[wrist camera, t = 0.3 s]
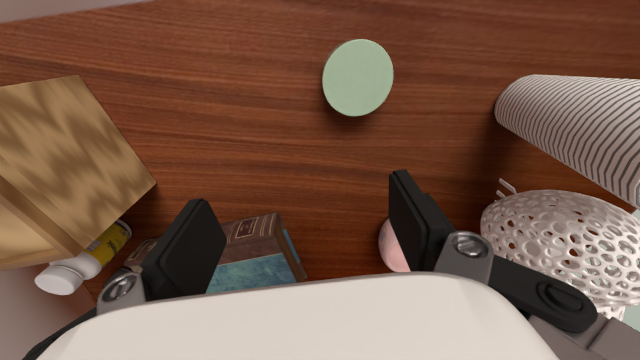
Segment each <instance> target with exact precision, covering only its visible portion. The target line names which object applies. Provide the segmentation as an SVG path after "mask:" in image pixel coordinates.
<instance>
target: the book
mask: <svg viewBox="0 0 640 360" xmlns="http://www.w3.org/2000/svg"><path fill="white" fill-rule="evenodd" d="M220 226H221V228H222V230H223V231H224V233H225V235H226V237H227V244H226V246H225V249H224V251H223V253H222V256H221V258H220V260H219V263H218V265H217V267H216V270H215V272H214V275H213V277H212V279H211V282H210V284H209V286H208V289H207V291H206V293H205V294H209V293H217V292H225V291H233V290H241V289H250V288H258V287H267V286H275V285H284V284H292V283H301V282H304V278H307V275H306V273H305V270H304V268H303V266H302V264H301V262H300V259H299V257H298V255H297V253H296V250H295V248H294V246H293V244H292V241H291V239H290V237H289V235H288V233H287V230H286V228H285V226H284V224H283V222H282V220H281V217H280V215H279V212H276V213H271V214H266V215H261V216H256V217H252V218H247V219H242V220H237V221H233V222H228V223H223V224H220ZM160 238H161V237H157V238H152V239H147V240H144V241H143V242H141V243H140V244H139V245H138V246H137V247H136V249H135V250H134V251H133V252H132V253H131V254H130V255H129V257H128V258H127V259H126V261H125V262H124V265H125V266H127V267H130V268H131V269H132V270H133V272H138V273H141V271H142V270H143V269H142V268H141V267H140V266H139V265H140V264H141V263H142V261H143V260H144V259H145V257H146V256H147V255H148V254H149V252H150V251H151V250H152V248H153V247H154V246H155V244H156V243H157V242H158V241H159V239H160Z"/></svg>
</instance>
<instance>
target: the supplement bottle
mask: <svg viewBox="0 0 640 360" xmlns="http://www.w3.org/2000/svg"><path fill="white" fill-rule="evenodd" d="M131 235H132V232H131V229H130V227H129V226H128V225H127V224H126V223H125V222H123V221H122V220H120V219H117V220H116V221H115V222H114V223H113V224H112V225H111V226H109V227H108V228H107V229H106V230H105V231H104V232H103V233H102V234H101V235H100V236H99V237H98V238H96V239H95V240H94V241H93V242H92V243H91V244H90V245H89V246H88V247H87V248H86V249H84V250H83V251H82V252H81V253H80V254H79V255H78V256H77V257H75V258H70V259H64V260H59V261H53V262H49V264H50V266H49V267H47V268H46V269H45V270H44V271H43V272H42V273H40V274H39V275H38V276H37V277H36V278H35V283H36V284H37V286H38V287H40V288H41V289H43V290H44V291H47V292H49V293H52V294H57V295H68V294H71V293H73V292H74V291H75V290H76V289H77V288H78V287H79V286H80V285H81V283H82V282H83V280H87V279H91V278H93V277H95V276H96V275H97V274H98V273H99V272H100V271H101V270H102V269H103V268H104V267H105V266H106V265H107V263H108V262H109V261H110V260H111V259H112V258H113V257H114V256H115V255H116V253H117V252H118V251H119V250H120V249H121V248H122V247H123V246H124V245H125V244H126V243H127V241H128V240H129V239H130V238H131Z"/></svg>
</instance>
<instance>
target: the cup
mask: <svg viewBox="0 0 640 360" xmlns="http://www.w3.org/2000/svg"><path fill="white" fill-rule="evenodd" d="M494 115H495V118H496V120H497V122H498V123H499V124H501V125H502V126H504V127H505V128H507V129H508V130H510V131H512V132H513V133H515V134H517V135H518V136H520V137H521V138H523V139H525V140H526V141H528V142H530V143H531V144H533V145H535V146H536V147H538V148H539V149H541V150H543V151H544V152H546V153H548V154H549V155H551V156H552V157H554V158H556V159H557V160H559V161H561V162H562V163H564V164H565V165H567V166H569V167H570V168H572V169H574V170H575V171H577V172H579V173H580V174H582V175H583V176H585V177H587V178H588V179H590V180H592V181H593V182H595V183H596V184H598V185H600V186H601V187H603V188H605V189H606V190H608V191H610V192H611V193H613V194H614V195H616V196H618V197H619V198H621V199H623V200H624V201H626V202H627V203H629V204H631V205H632V206H634V207H636V208H637V209H639V210H640V80H635V79H614V78H594V77H574V76H553V75H533V74H532V75H529V76H525V77H521V78H519V79H518V80H516V81H514V82H513V83H511V84H510V85H509V86H508V87H507V88H506V89H505V90H504V91H503V92H502V93H501V94H500V96H499V98H498V100H497V102H496V104H495V110H494Z"/></svg>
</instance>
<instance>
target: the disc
mask: <svg viewBox="0 0 640 360" xmlns="http://www.w3.org/2000/svg"><path fill="white" fill-rule="evenodd" d="M321 80H322V86H323V91H324V94H325V97H326V99H327V101H328V102H329V104H330V105H331V106H332V107H333V108H334V109H335V110H336V111H338V112H340V113H342V114H344V115H348V116H362V115H365V114H368V113H370V112H372V111H374V110H375V109H376V108H378V107H379V106H380V105H381V104H382V103H383V102H384V100H385V99H386V97H387V96H388V94H389V92H390V89H391V86H392V82H393V66H392V62H391V60H390V57H389V56H388V54H387V52H386V51H385V50H384V49H383V48H382V47H381V46H380V45H378V44H377V43H375V42H373V41H369V40H364V39H353V40H348V41H345V42H343V43H341V44H339V45H337V46H336V47H335V48H334V49H333V50H332V51H331V52H330V53H329V55H328V56H327V58H326V60H325V62H324V65H323V68H322V74H321Z"/></svg>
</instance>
